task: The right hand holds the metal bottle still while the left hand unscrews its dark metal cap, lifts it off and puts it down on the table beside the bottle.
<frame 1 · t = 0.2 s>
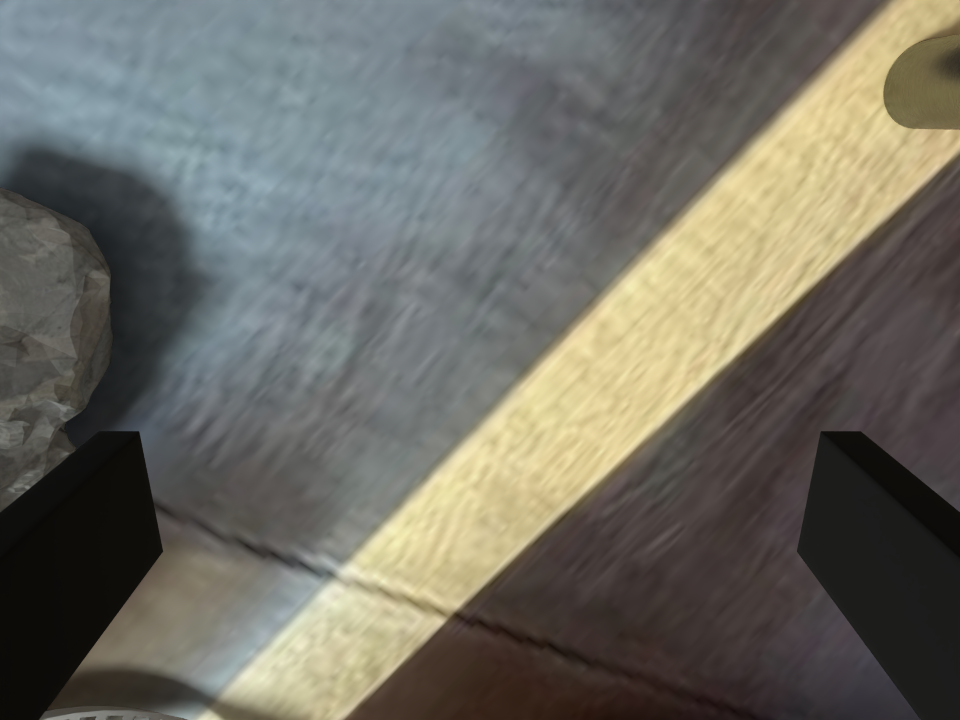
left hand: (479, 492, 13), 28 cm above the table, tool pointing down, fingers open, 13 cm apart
bottle: (925, 84, 36), on the table
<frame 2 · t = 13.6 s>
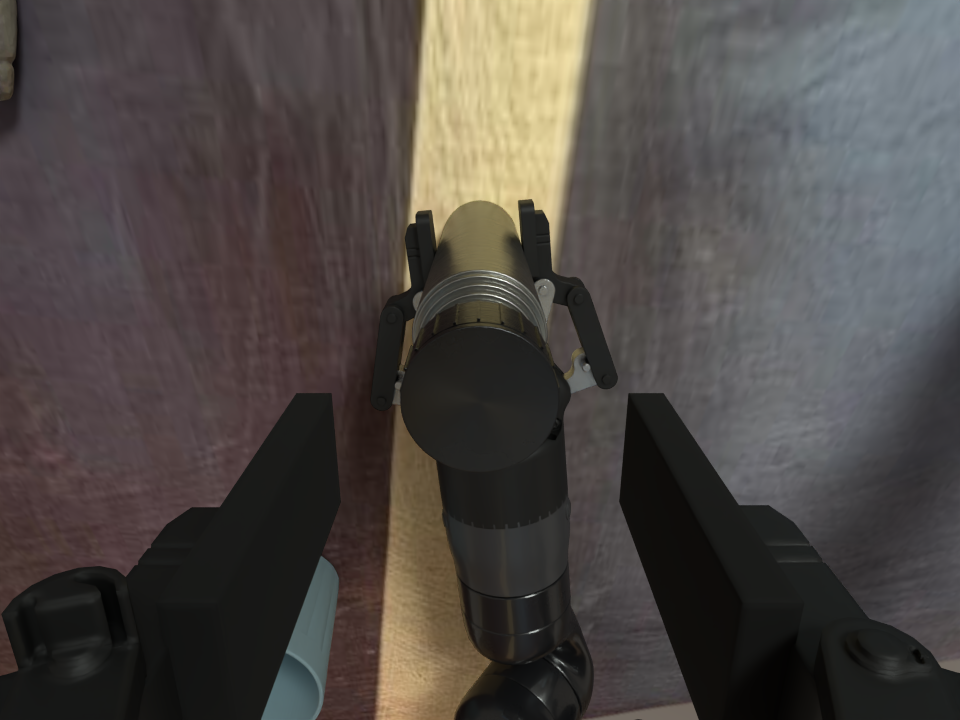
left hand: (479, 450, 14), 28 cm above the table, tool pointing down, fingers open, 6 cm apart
right hand: (475, 208, 33), fingers closed on bottle, 4 cm apart
cup: (303, 578, 49), on the table
cap: (479, 397, 17), point 25 cm above the table, screwed on, not yet turned
bottle: (480, 238, 41), on the table, touching right hand
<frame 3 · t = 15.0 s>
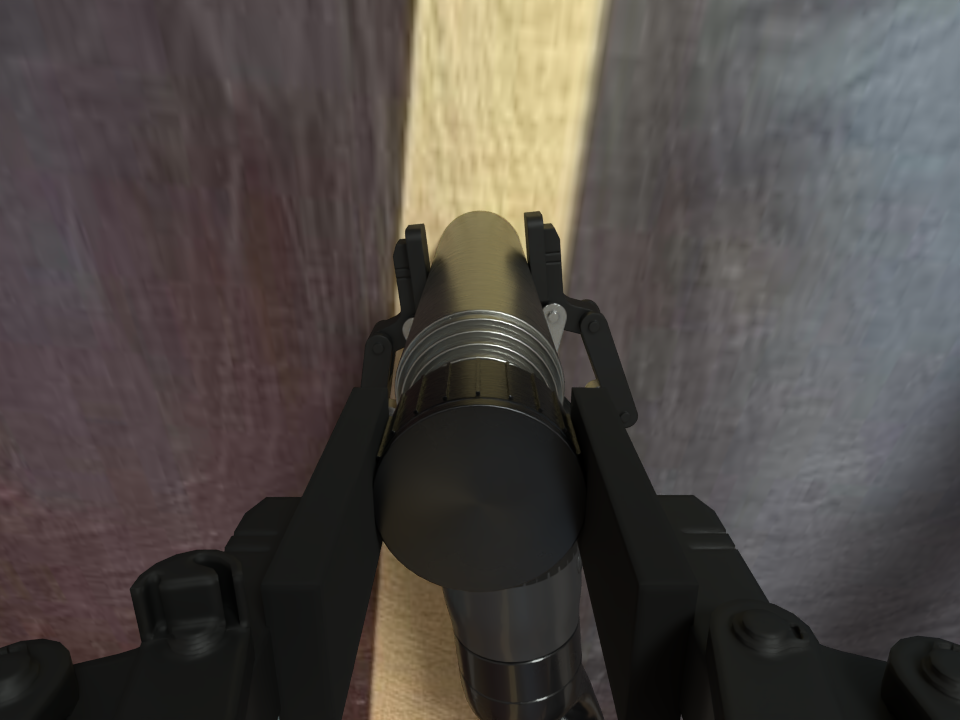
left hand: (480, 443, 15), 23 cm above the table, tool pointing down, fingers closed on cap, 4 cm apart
cap: (479, 495, 13), point 25 cm above the table, screwed on, not yet turned, touching left hand
bottle: (480, 252, 36), on the table, touching right hand
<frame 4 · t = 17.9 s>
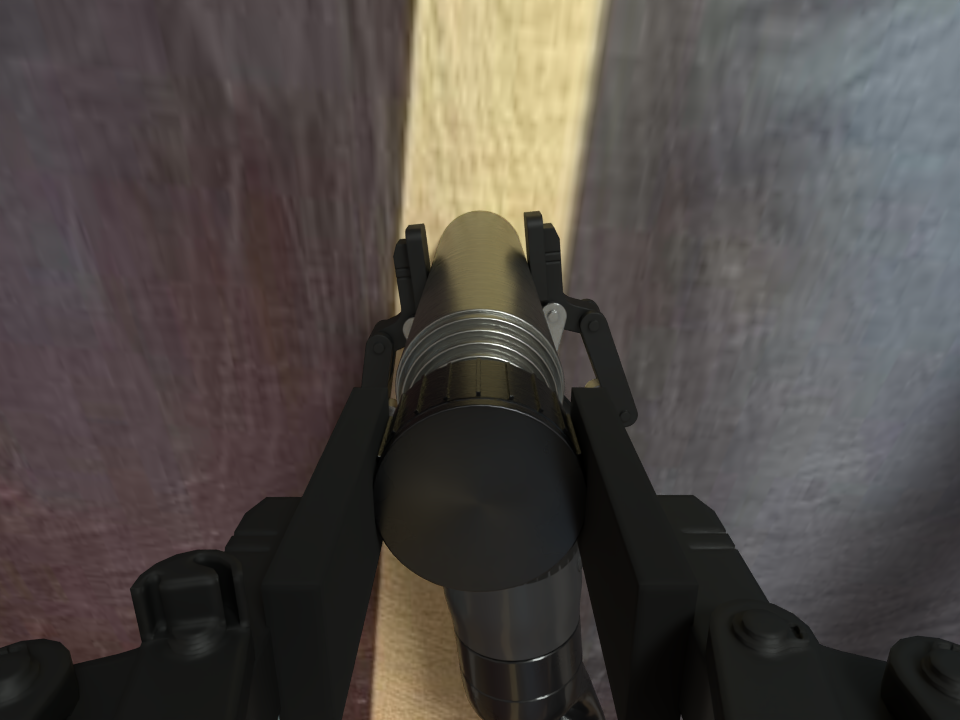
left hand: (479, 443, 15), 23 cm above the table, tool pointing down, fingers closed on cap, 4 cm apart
cap: (479, 495, 13), point 25 cm above the table, turned 86° so far, risen 0.1 cm, still on its thread, touching left hand
bottle: (480, 252, 36), on the table, touching right hand
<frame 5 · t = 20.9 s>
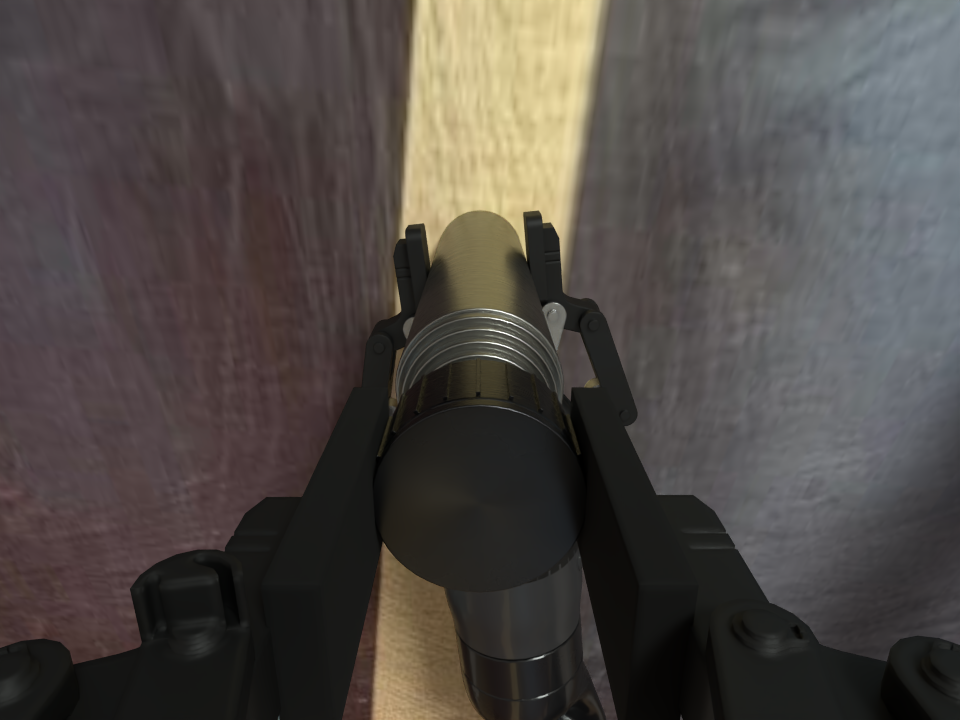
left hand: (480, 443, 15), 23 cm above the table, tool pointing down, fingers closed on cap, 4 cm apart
cap: (479, 496, 13), point 25 cm above the table, turned 171° so far, risen 0.2 cm, still on its thread, touching left hand
bottle: (479, 252, 36), on the table, touching right hand
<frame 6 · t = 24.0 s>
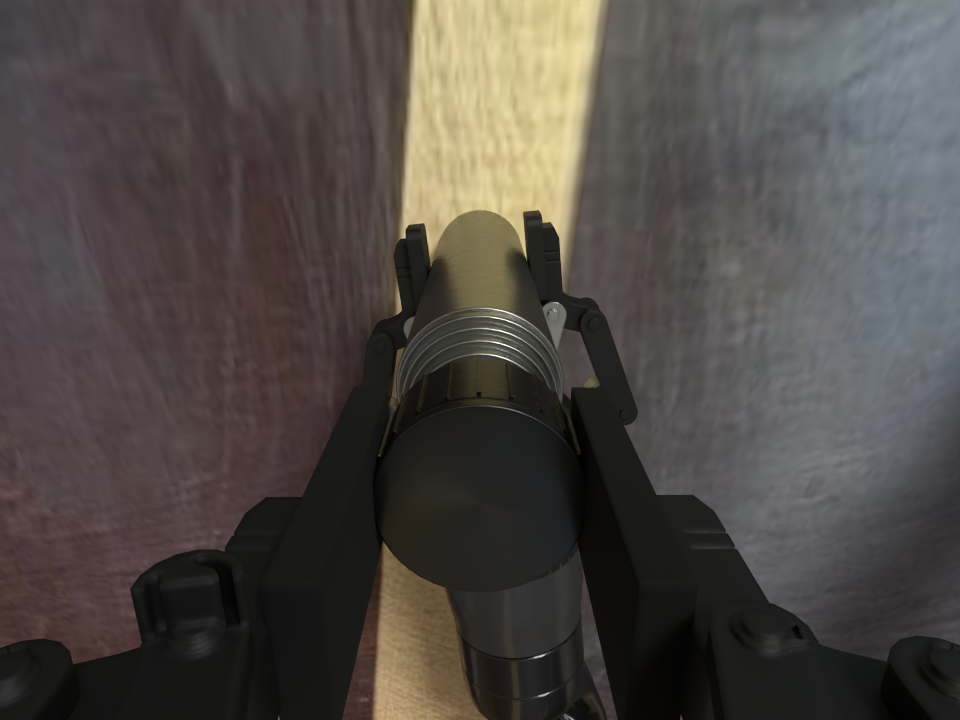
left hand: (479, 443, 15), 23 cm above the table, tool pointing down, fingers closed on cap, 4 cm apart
cap: (480, 495, 13), point 25 cm above the table, turned 257° so far, risen 0.3 cm, still on its thread, touching left hand
bottle: (480, 252, 36), on the table, touching right hand
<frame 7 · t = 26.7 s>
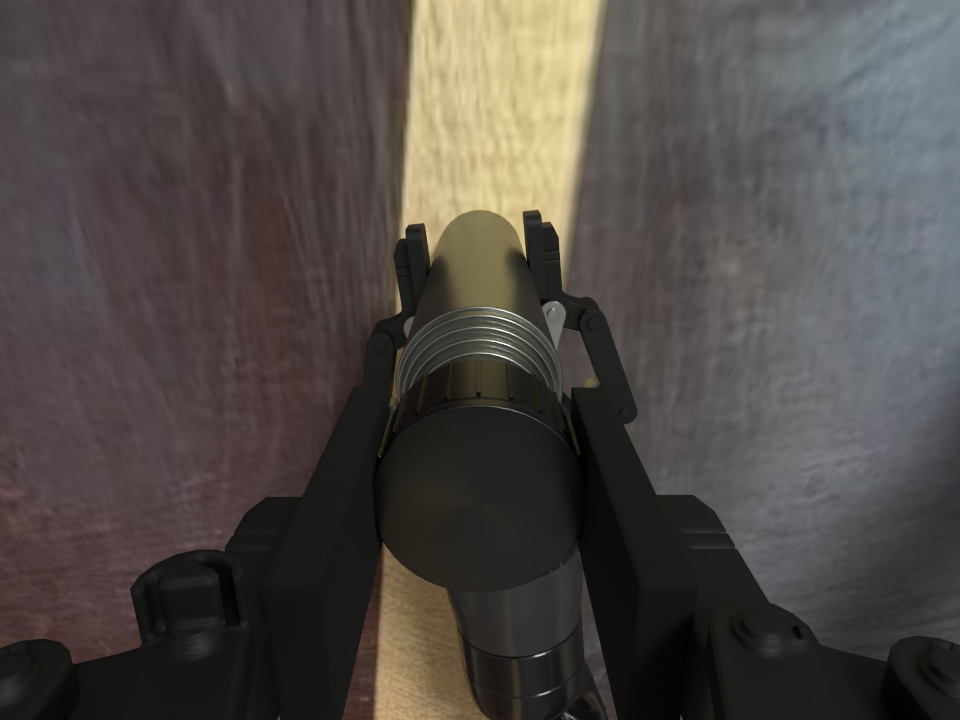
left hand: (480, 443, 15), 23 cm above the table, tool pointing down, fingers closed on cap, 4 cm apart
cap: (479, 496, 13), point 25 cm above the table, turned 342° so far, risen 0.3 cm, still on its thread, touching left hand
bottle: (479, 251, 36), on the table, touching right hand
when the left hand's fingers open (1 cm above the table, at t = 36.5 s): cap drops 1 cm, point 2 cm above the table.
when the right hand's fingers open (7 cm above the table, at t = 37.8 s): bottle stays where it is, on the table.
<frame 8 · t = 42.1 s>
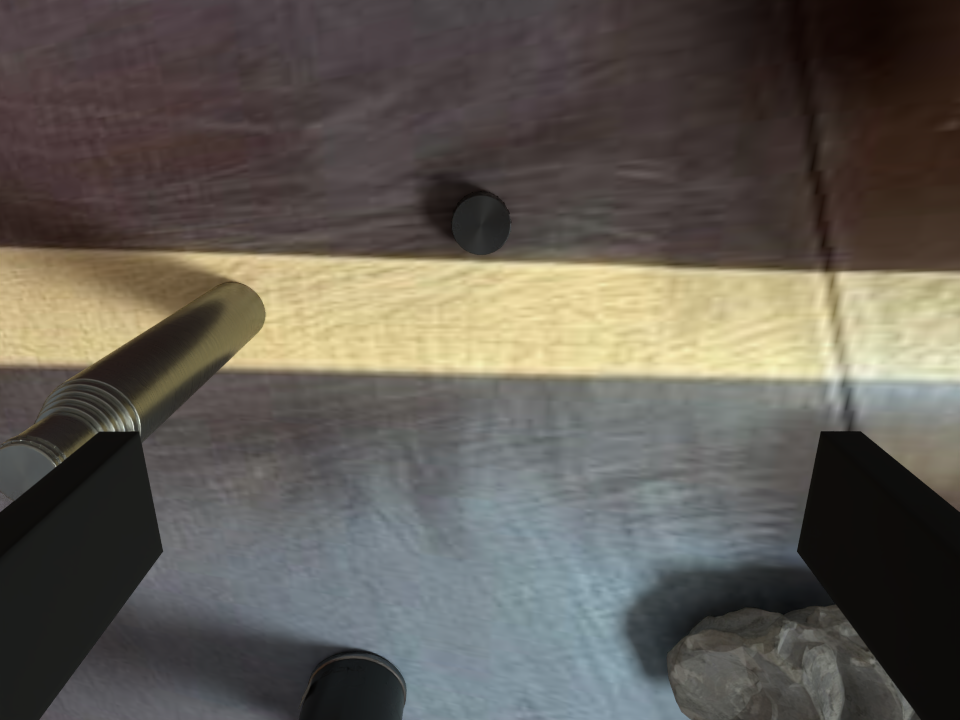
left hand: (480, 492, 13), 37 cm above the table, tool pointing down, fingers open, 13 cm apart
cap: (481, 224, 46), point 2 cm above the table, off its thread
decorative stone 2: (828, 637, 61), on the table
bottle: (235, 311, 50), on the table
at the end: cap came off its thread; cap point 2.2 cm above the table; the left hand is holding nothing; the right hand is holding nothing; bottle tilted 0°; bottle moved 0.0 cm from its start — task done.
